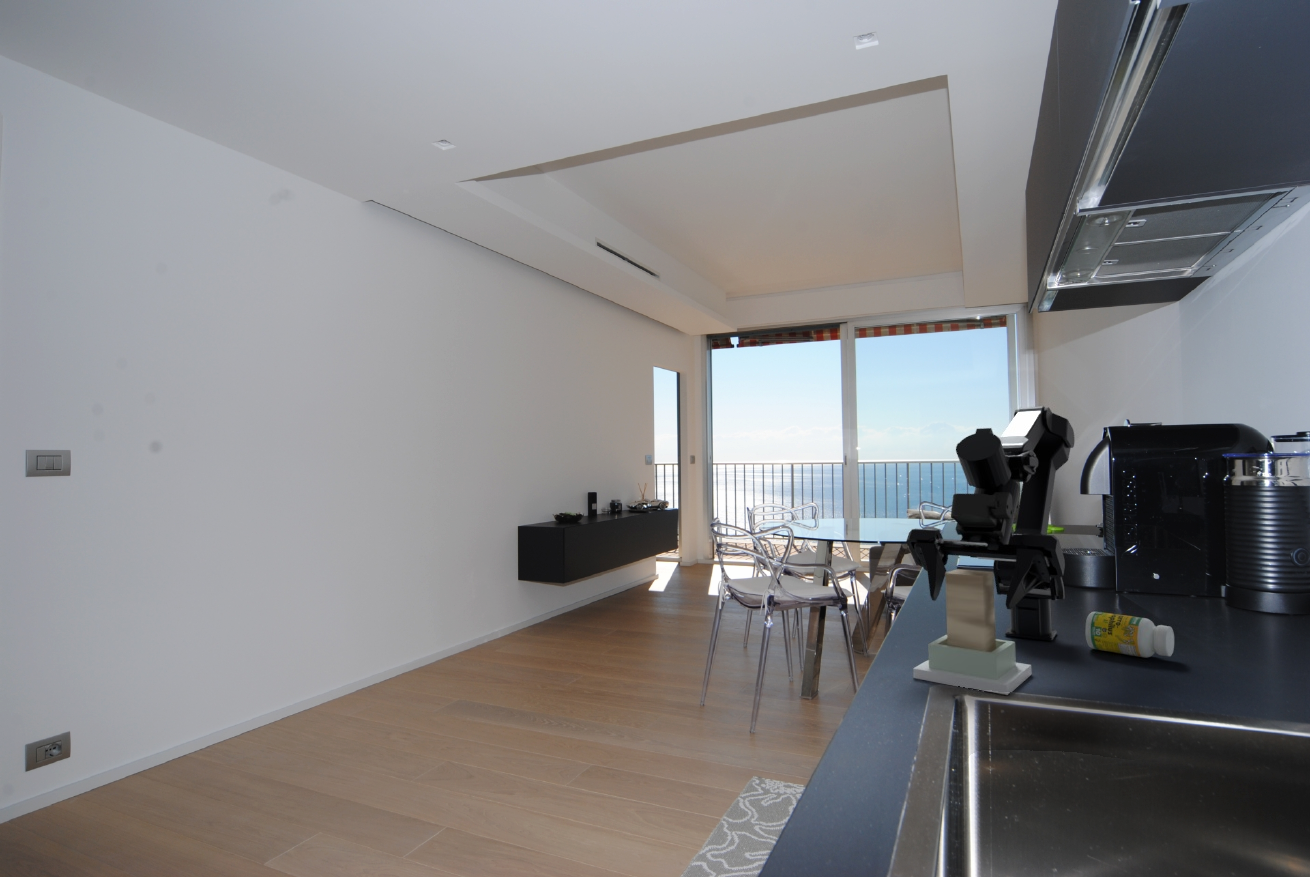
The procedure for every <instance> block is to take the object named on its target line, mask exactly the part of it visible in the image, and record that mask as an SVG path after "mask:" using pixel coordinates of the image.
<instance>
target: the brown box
mask: <svg viewBox="0 0 1310 877" xmlns="http://www.w3.org/2000/svg"><path fill="white" fill-rule="evenodd" d="M944 580H945V582H944V583H945V606H946V608H945V610H946V635H947V644H948V646H953V647H959V648H966V649H972V650H979V651H985V652H992V651H994V650H995V649H996V639H997V637H996V612H995V611H996V608H995V585H994V584H995V583H994V582H995V577H994V571H989V570H988V571H986V570H973V569H960V568H956V569H953V570H950V571H946V573H945V577H944Z"/></svg>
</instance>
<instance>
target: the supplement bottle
mask: <svg viewBox="0 0 1310 877" xmlns="http://www.w3.org/2000/svg"><path fill="white" fill-rule="evenodd" d="M1086 617H1087V618H1086V622H1085V639H1086V643H1087V645H1088V647H1090V648H1091V649H1094V650H1098V651H1105V652H1110V653H1116V654H1122V655H1127V656H1131V657H1137V658H1139V657H1141V658H1147V659H1148V658H1150V657H1152V656H1153V655H1154V654H1157V655H1159V656H1163V657H1164V656H1165V657H1171V656H1172V654H1173V653H1174V649H1175V633H1174V630H1173V628H1172V626H1169V625H1168V626H1167V625H1163V624H1160V625H1159V624H1158V625H1157V626H1156V625H1155V623H1154V622H1153V621H1152V620H1151V619H1149V618H1145V617H1138V616H1132V615H1125V614H1124V615H1122V614H1116V613H1110V612H1109V613H1108V612H1102V611H1091V613H1089V614H1088V616H1086Z"/></svg>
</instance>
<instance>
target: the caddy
mask: <svg viewBox="0 0 1310 877" xmlns="http://www.w3.org/2000/svg"><path fill="white" fill-rule="evenodd" d="M927 648H928V649H927V650H928V660H926V661H924V662H922V663H920V664H919V665H917V666H915V667H913V668H912V670H913V671H912V672H913V673H912V674H913V679H916V680H921V681H922V680H924V681H927V682H933V683H938V684H942V685H947V686H948V685H949V686H953V687H958V686H960V687H959V688H963V687H965V688H964V689H968V688H975V689H981V690H992V691H998V692H1011V693H1012V692H1013V691H1014V690H1015V689H1017V688H1018V687H1019V686H1020V685H1022V684H1023V683H1024V681H1025V682H1026V680H1027V679H1028V678H1029V677H1030V676H1032V672H1033V670H1032V664H1027V663H1022V662H1017V661H1016V660H1017V659H1016V657H1017V655H1016V641H1012V640H1005V639H998V638H996V649H995V650H994V651H992V652H985V651H979V650H972V649H966V648H959V647H953V646H948V644H947V634H945V635H943V636H941V637H939V638H937V639H935V640H934V641H931V642H930V643H928V645H927Z"/></svg>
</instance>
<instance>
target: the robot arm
mask: <svg viewBox="0 0 1310 877" xmlns="http://www.w3.org/2000/svg"><path fill="white" fill-rule="evenodd" d="M1074 446H1075V431H1074V428H1073V426H1072V424H1071V423H1070V421H1069V419H1067V418H1066V417H1063V416H1061V415H1058V414H1056V413H1054V412H1052V410H1051V409H1050V407H1045V406H1044V405H1043V406H1042V405H1040V406H1027V407H1026V406H1025V407H1020V408H1018V409H1015V410H1014V413H1013V418H1012V419H1011V422H1010V423H1009V424H1008V426H1006V429H1005V430H1004V431H1003V433H1002V434H1001V436H998V435H996V434H994V432H993V429H992V427H983V428H976V430H975V432H974V433H973V434H969V435H967V436H966V437H964V438H962V440H960V442H958V443H957V444H956V446H955V452H956V455H957V458H958V461H959V463H960V466H961V468H962V472H963V473H964V477H965V479H966V482H967V484H968V486H970V487H973V488H974V492H973V493H954V494H953V495H952V500H951V501H952V503H951V509H950V510H951V511H950V518H951V519H952V520H954V521H955V522H956V526H955V532H956V534H957V536H960V535H961V539H950V538H949V539H948V538H944V537H943V536H942V532H941V530H940V529H934V528H933V529H931V528H912V529H911V530H910V532H908V536H907V538H906V541H905V542H906V545H907V547H908V548H909V550H910V553H911V556H913V559H914V561H915V563H916V564H917V565H918V566H920V567H921V568H923V569H924V571H926V572H927V577H928V578H927V580H928V588H929V596H930V598H931V600H932V601H933V602H935V601H937V599H938V598H939V595H940V592H941V590H942V587H943V583H944V580H945V573H947V568H946V565H947V563H948V560H949V556H960V557H970V558H975V559H976V558H977V559H979V560H991V561H993V578H994V582H995V583H994V584H995V587H996V589H995V590H996V595H999V596H1001V595H1004V596H1005V595H1006V597H1005V598H1006V599H1005V607H1006V609H1007V610H1009V619H1010V621H1009V622H1010V625H1009V627H1008V628H1007V629H1006V631H1005V632H1004V634H1005V635H1004V636H1008V637H1015V638H1022V639H1023V638H1024V639H1034V640H1040V641H1049V642H1050V641H1053V640H1054V638H1055V636H1056V635H1057V629H1053V628H1052V613H1051V608H1052V607H1051V601H1057V600H1065V586H1064V581H1063V577H1064V573H1065V569H1066V568H1065V567H1066V563H1065V562H1066V561H1065V557H1064V553H1063V550H1062V549H1063V548H1062V546H1061V543H1060V539H1059V538H1057V536H1056V535H1054V534H1048V529H1049V523H1050V522H1049V521H1050V514H1051V509H1052V508H1051V507H1052V500H1053V493H1054V487H1055V479H1056V473H1057V471H1058V470H1059V469H1060V468H1061V467H1062V466H1064V465H1065V464H1066V463H1067V462H1068V461H1069V458H1070V454H1071V453H1070V452H1071V449H1073V448H1074ZM1019 483H1022V485H1021V488H1020V486H1019ZM1016 512H1017V515H1016ZM1015 516H1016V521H1015V527H1014V526H1013V524H1014V520H1015ZM1048 589H1049V590H1048Z"/></svg>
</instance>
